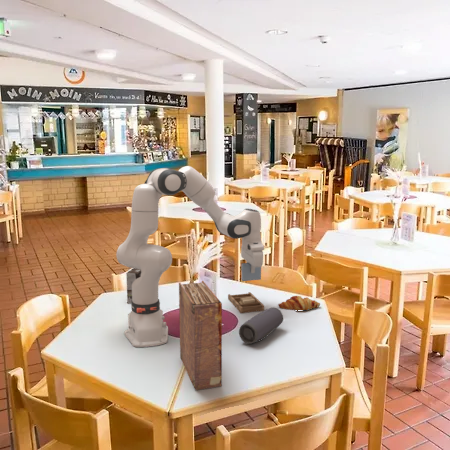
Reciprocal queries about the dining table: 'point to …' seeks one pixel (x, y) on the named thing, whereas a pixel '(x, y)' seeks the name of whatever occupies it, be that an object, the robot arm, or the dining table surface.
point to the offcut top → (247, 300)
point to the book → (201, 335)
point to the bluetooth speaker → (260, 325)
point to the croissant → (299, 303)
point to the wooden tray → (246, 307)
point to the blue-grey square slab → (246, 273)
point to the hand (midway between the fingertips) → (251, 271)
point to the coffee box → (131, 281)
